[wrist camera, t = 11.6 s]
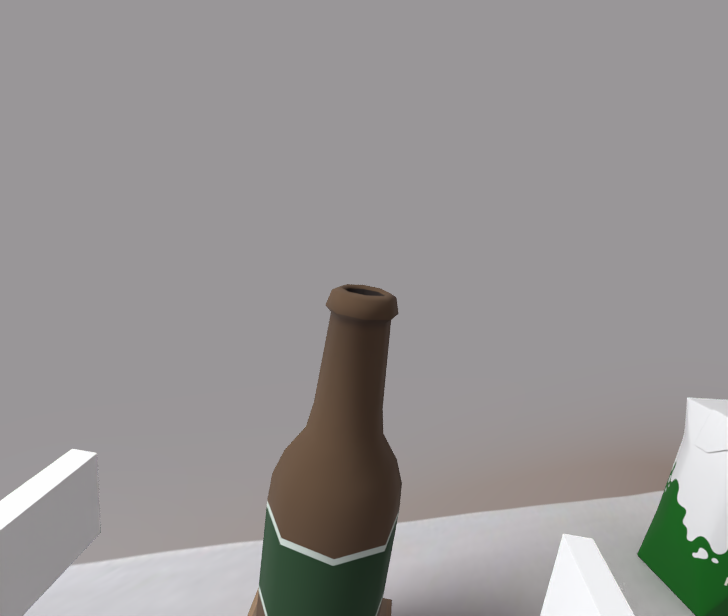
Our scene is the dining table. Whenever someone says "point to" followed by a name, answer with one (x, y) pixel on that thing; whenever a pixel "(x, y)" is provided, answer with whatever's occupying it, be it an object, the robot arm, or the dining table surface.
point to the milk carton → (695, 514)
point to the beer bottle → (337, 477)
